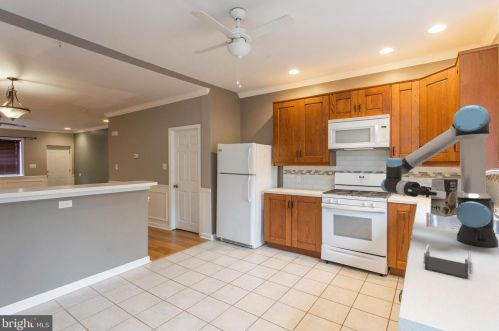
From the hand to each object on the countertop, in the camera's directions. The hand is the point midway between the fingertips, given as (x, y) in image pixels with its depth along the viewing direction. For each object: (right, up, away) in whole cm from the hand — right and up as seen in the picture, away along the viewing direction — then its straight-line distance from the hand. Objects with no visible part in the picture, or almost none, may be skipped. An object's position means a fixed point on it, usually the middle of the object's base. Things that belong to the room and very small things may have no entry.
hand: (454, 194), depth 109 cm
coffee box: (-1, -10, +4) cm, 11 cm away
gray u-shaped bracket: (-12, -26, -11) cm, 30 cm away
